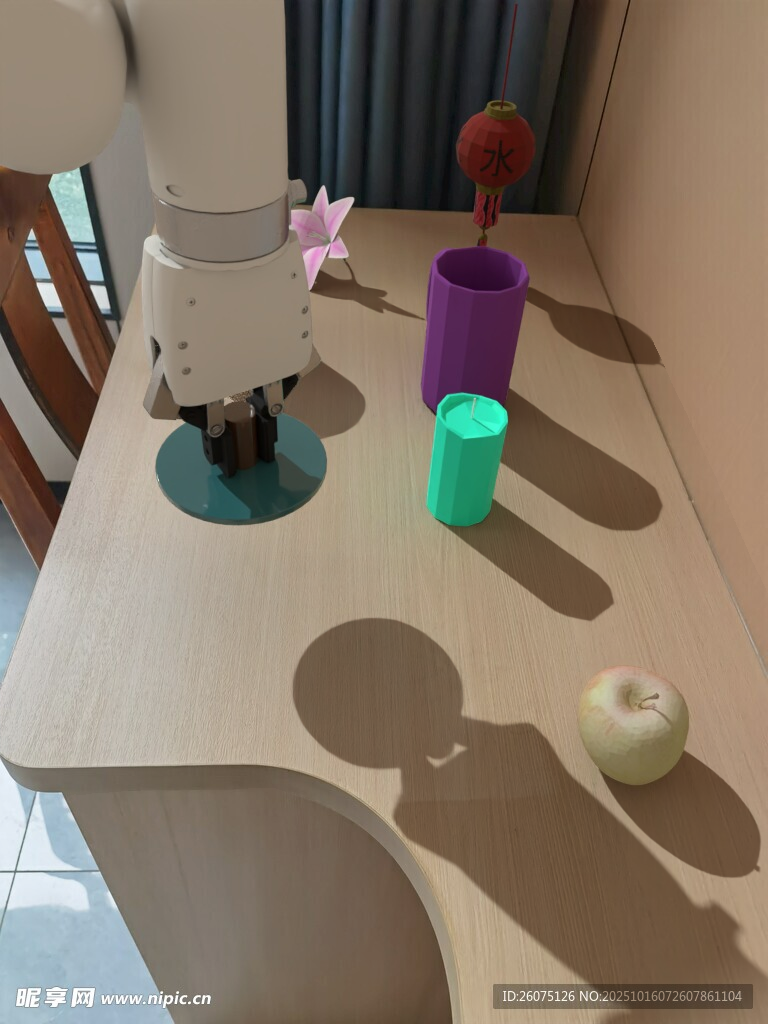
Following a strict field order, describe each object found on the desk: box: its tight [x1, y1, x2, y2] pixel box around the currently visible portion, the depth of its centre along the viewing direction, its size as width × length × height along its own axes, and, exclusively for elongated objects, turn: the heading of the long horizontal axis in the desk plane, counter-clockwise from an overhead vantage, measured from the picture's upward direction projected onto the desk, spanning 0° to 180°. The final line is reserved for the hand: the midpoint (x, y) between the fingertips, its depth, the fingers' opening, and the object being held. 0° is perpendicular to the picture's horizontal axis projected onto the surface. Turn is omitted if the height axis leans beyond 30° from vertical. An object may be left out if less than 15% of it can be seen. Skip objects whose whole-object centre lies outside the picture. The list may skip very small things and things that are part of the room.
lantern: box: [455, 2, 537, 247], centre depth 95 cm, size 10×10×30 cm
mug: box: [420, 245, 531, 414], centre depth 82 cm, size 9×16×15 cm, turn 18°
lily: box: [291, 185, 355, 291], centre depth 100 cm, size 12×12×10 cm
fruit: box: [576, 665, 690, 786], centre depth 54 cm, size 8×7×8 cm
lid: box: [154, 400, 328, 527], centre depth 57 cm, size 12×12×6 cm
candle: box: [426, 393, 509, 527], centre depth 69 cm, size 6×6×12 cm
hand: (241, 457), depth 58 cm, fingers closed on lid, 2 cm apart
